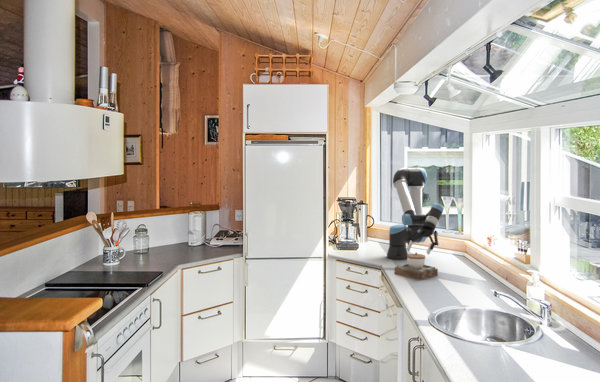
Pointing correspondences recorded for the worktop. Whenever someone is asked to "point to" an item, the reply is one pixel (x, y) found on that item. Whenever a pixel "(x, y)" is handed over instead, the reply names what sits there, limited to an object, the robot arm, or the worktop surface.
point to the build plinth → (416, 271)
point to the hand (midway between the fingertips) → (417, 251)
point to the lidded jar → (416, 260)
